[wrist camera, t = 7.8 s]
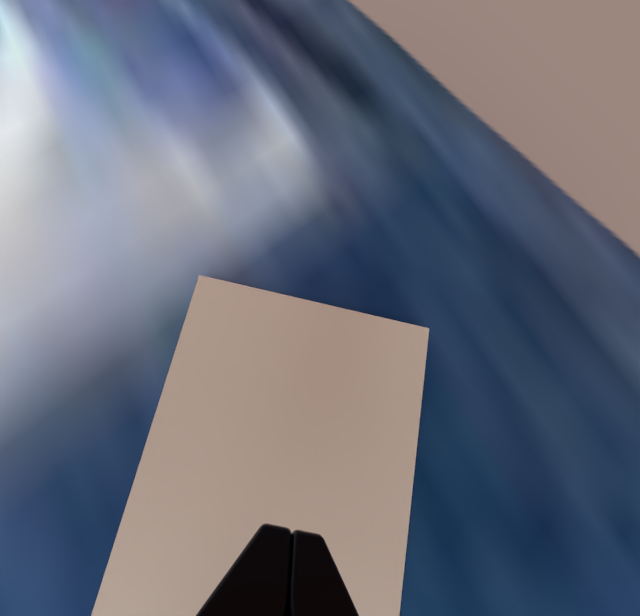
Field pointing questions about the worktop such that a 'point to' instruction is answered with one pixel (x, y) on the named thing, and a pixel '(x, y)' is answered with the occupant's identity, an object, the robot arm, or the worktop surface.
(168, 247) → the worktop surface
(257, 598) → the robot arm
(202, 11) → the worktop surface
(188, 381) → the tile
